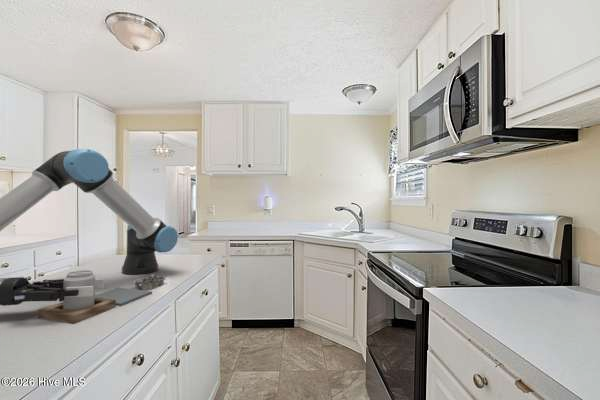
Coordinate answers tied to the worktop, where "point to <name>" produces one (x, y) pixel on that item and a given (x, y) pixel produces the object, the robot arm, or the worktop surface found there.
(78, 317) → the frame
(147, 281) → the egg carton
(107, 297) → the mat
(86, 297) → the can
